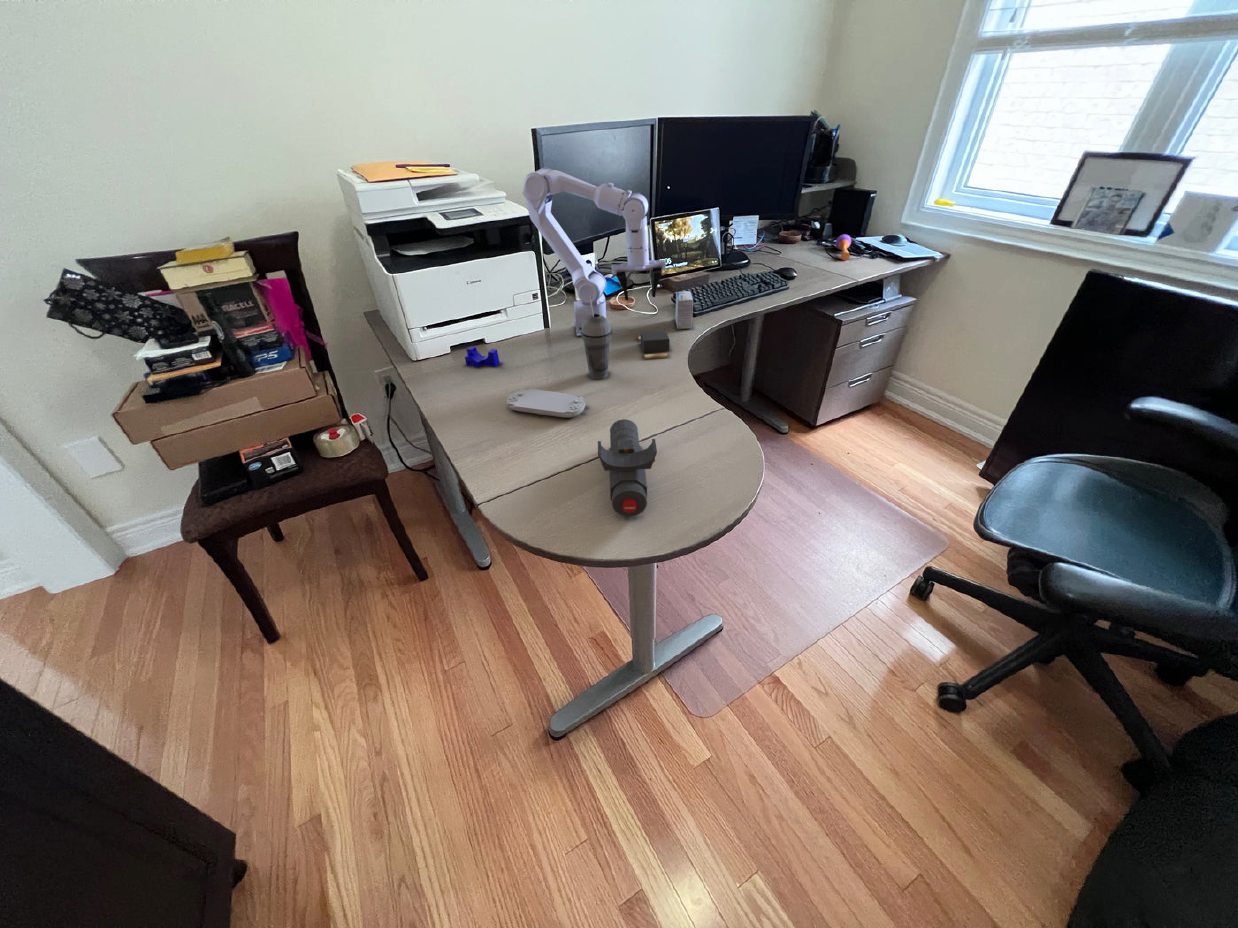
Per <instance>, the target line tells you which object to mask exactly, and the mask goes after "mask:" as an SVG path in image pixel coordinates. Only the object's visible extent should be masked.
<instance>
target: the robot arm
mask: <svg viewBox="0 0 1238 928" xmlns="http://www.w3.org/2000/svg"><path fill="white" fill-rule="evenodd" d="M614 185H615V184H614V183H613V182H608V183H601V184H600V185H599V186H596V185H594V184H591V183H589V182H587V181H584V180H582V179H579V178H577V177H575V176H573V175H570V174H567V173H566V172H563V171H560V170H558V169H557V170H556V169H552V168H549V167H542V168H540V169H538V170H536V171H533V172H529V173H528V174H526V175H525V177H524V179H523V184H522V191H521V193H522V195H523V197H524V199H525V202H526V207H527V212H528V215H529V219H530V220H531V222H532V223H533V225H534V226H535V227H536V229H537V230H538V232H539V233H540V234H541V236H542V237H543V239H544V240H545V241H546V243H547V244H548V245H549V246H550V248H551V249H552V251H553V252H554V254H555V255H556V257H558V259H559V260H560V262H561V263H562V264H563V266H564V267H565V269H566V270H567V271H568V273H569V274H570V276H571V280H572V285H573V287H574V288H575V290H576V293H577V297H578V299H579V300H576V301H573V309H574V322H573V323H574V328H575V332H576V337H582V334H581V331H582V325H583V322H584V320H585V319H586V318H587V317H588V316H590V315H591V310H590V304H589V298H588V296H590V297H591V303H592V309H593V314H600V315H602V316H604V317H605V318H606V319H607V308H606V307H607V303H606V297H605V294H604V292H605V291H606V288H607V280H606V278H605V276H604V275H603V274H602V273H600V272H598V271H597V270H596V269H595V267H594V266H592V265H591V264H589V263H587V262H586V260H585V258H584V257H583V256H582V255H581V253H580V252H579V250H578V249H577V248H576V246H575V245H574V243H573V242H572V241H571V239H570V238H569V236H568V235H567V234H566V232H565V231H564V229H563V228H562V226H561V225H560V223H559V222H558V221H557V219H556V218H555V217H554V215H553V214H552V204H553V199H554V196H555V195H557V194H561V193H567V194H571V195H573V196H576V197H580V198H583V199H586V200H589V201H593V202H594V204H595V206H596V207H597V209H599V210H602V211H606V212H608V213H610V214H613V215H617V216H619V217H622V218H623V219H624V220H625V240H626V241H625V242H626V257H627V262H624V263H620V264H613V265H611V274H612V275H613V276H616V278H617V279H618V282H619V284H620V285H621V288H622V291H623V294H624V295H623V296H624V300H625V301H629V294H628V293H629V291H628V278H627V273H634V272H644V271H650V277H651V278H650V279H651V297H652V298H656V295H657V290H658V285H659V283H660V279H661V278H662V275H663V270H666V267H667V266H666V264H667V263H666V260H665V259H656V260H655V259H652V260H651V259H650V255H649V229H648V228H649V227H648V217H647V213H648V211H649V202H648V199H647V197H645V195H643V194H641V193H640V192H634V193H632V190H630V189H627V190H623V189H621V188H618V187H615V186H614Z"/></svg>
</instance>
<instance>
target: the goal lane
mask: <svg viewBox="0 0 1238 928" xmlns="http://www.w3.org/2000/svg"><path fill="white" fill-rule="evenodd" d="M637 338H638V342H639V341H640V342H641V336H637ZM643 356H644V359H645V360H649V359H661V358H662V359H664V358H668V353H667V352H658V353H646V354H644V355H643Z"/></svg>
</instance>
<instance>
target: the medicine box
mask: <svg viewBox="0 0 1238 928" xmlns="http://www.w3.org/2000/svg"><path fill="white" fill-rule="evenodd" d="M693 310H694V299H693V296H692V292H691V291H684V290H683V291H676V294H675V314H674V315H675V316H674V317H675V323H676V329H678V330H687V329H688V330H689V329H691V330H692V329H693Z"/></svg>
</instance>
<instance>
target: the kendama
mask: <svg viewBox="0 0 1238 928" xmlns="http://www.w3.org/2000/svg"><path fill="white" fill-rule="evenodd" d="M851 245H852V238H851V236H850V235H848V234H841V235H839V236H838V237H837V238H836V240H835V247H836V248H837V250H840V251H841V253H840V260H841V261H843V262H845V261H849V259H850V258H851V256H850V252H849V250H848V248H850V246H851Z"/></svg>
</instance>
